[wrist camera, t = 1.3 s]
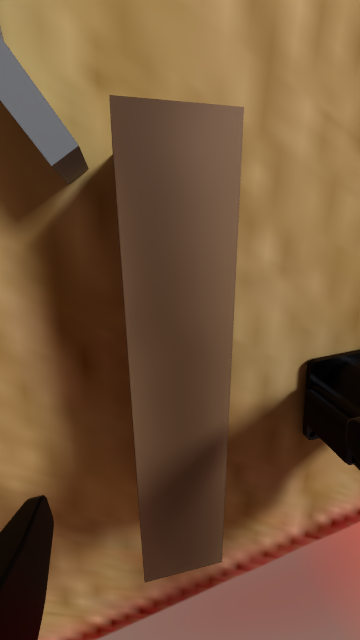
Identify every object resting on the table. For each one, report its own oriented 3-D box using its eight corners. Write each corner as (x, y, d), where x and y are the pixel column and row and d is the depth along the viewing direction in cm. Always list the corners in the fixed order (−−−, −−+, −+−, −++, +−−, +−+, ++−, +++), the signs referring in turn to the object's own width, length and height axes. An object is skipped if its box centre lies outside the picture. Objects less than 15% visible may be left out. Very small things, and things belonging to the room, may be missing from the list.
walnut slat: (193, 159, 14) (243, 107, 8) (192, 470, 20) (221, 562, 14) (112, 155, 13) (109, 94, 8) (136, 480, 19) (144, 582, 13)
